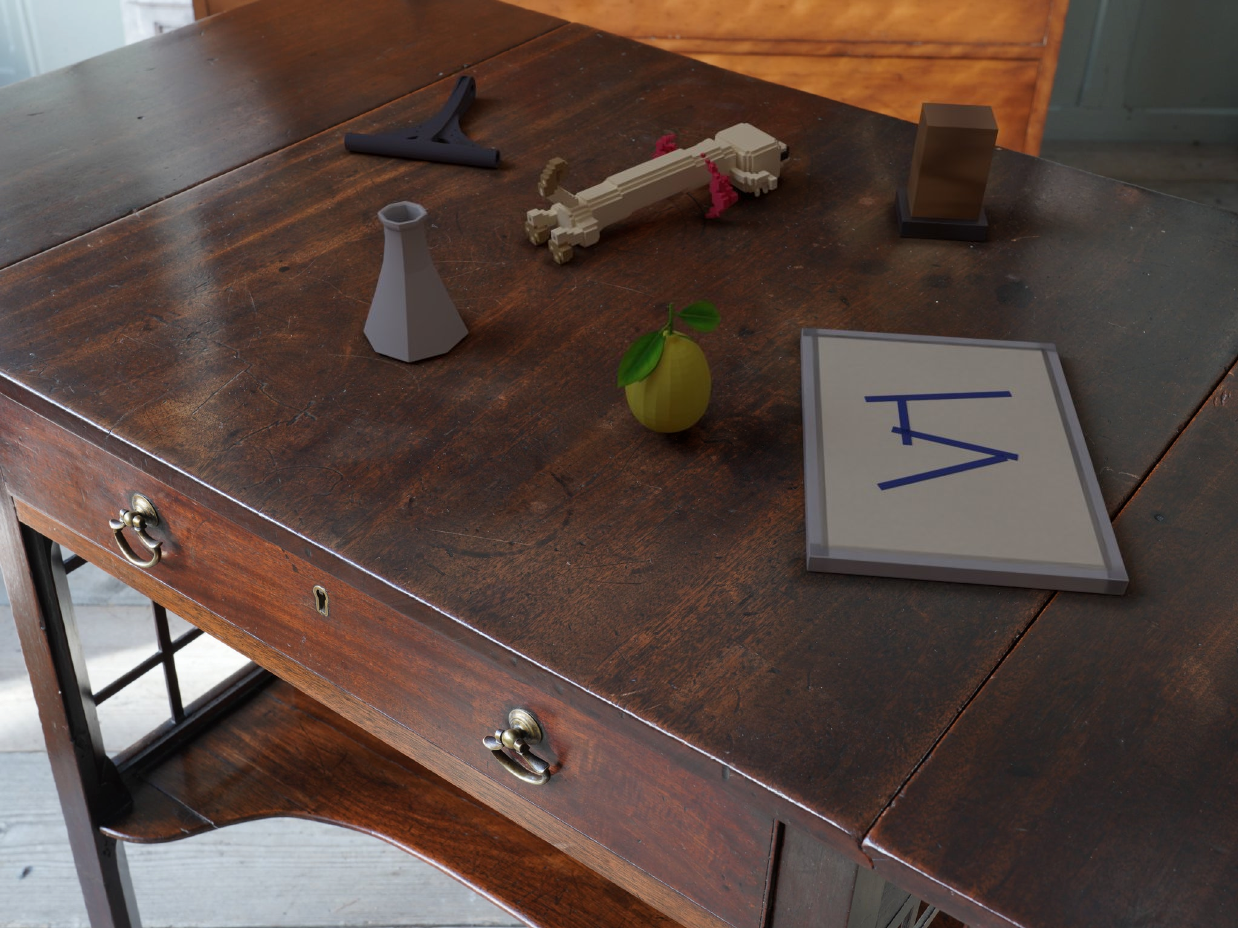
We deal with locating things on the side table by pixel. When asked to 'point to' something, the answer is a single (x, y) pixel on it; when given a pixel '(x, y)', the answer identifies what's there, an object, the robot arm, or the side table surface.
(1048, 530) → the board
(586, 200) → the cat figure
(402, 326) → the flask
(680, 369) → the lemon
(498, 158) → the bracket
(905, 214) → the eraser
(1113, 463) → the side table surface
